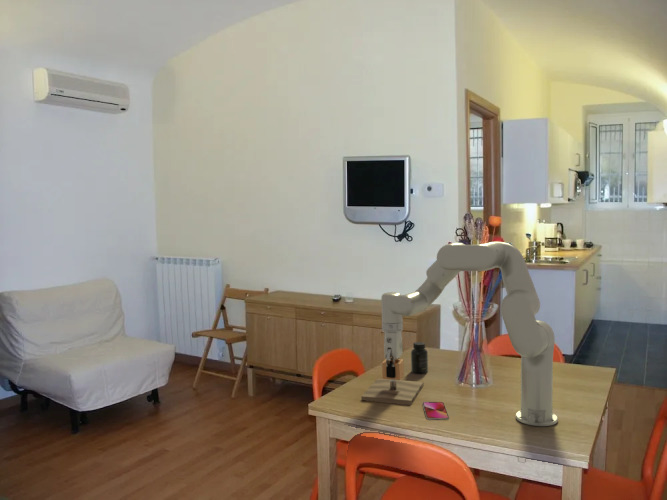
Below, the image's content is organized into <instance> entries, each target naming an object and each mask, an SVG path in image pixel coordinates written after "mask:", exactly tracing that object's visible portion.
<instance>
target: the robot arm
mask: <svg viewBox="0 0 667 500" xmlns="http://www.w3.org/2000/svg"><path fill="white" fill-rule="evenodd" d="M497 268H499V269H500V272H501V278H502V282H503V285H504V288H505V290H506V291H505V292H506V295H504V297H503V299H502V300H501V304H500V312H501V317H502V320H503V323H504V326H505V329H506V332H507V335H508V337H509V341H510V343H511V346H512V348H513V349H514V351H515V352H516V353H517V354H518V355H520V356H521V358H520V410H518V411H517V412H516V414H515V419H516V420H517V421H518V422H520V423H522V424H525V425H528V426H532V427H550V426H553V425H555V424H557V423H558V420H559V419H558V418H559V417H558V416H557V415H556V414H555V413H553V390H554V389H553V387H554V386H553V381H554V380H553V373H554V371H553V369H554V367H553V365H554V364H553V363H554V351H555V339H556V338H555V332H554V330H553V328H552V326H551V325H549V324H548V323H547V322H546V321H543V320H537V318H536V315H537V314H538V313H539V312H540V308H541V302H540V298H539V296H538V293H537V291H536V288H535V284H534V282H533V279H532V276H531V274H530V271H529V269H528V266H527V262H526V260H525V257H524V256H523V254H522V252H521V251H520V250H519V249H518V248H517V247H516V246H514V245H512V244H510V243H508V242H503V241H489V242H486V243H481V244H465V243H463V242H454V243H447V244H445V245H443V246H442V247H440V248H439V250H438V251H437V253H436V260H435V261H434V262H433V263H432V264H431V265H430V266H429V267H428V268H427V269H426V270H425V271H426V278H425V279H426V280H425V281H424V282H423V283H421V285H420V286H419V287H418V288H417V289H416V290H415V291H413V292H410V293H407V294H401V293H400V292H396V291H395V292H393V291H391V292H384V293H383V294H382V295H381V297H380V298H381V300H380V301H381V331H382V332H384V337H383V338H384V340H383V342H384V343H383V350H384V351H383V353H384V354H383V355H384V358H385V359H386V362H387V363H386V374H387V377H389V378H395V377H396V376H395V367H394V364H395V359H401V358H400V357H401V356H402V355H403V352H404V351H403V350H404V349H403V345H404V344H403V335H402V332H403V330H404V325H403V321H404V320H403V316H405V317H410V316H413V315H416V314H418V313H421V312H423V311H426V309H427V308H429V307H430V306H431V304H433V303H434V302H435V301H436V300H437V299H438V298H439V296H440V295H441V294H442V293H443V291H444V290H445V288H446V287H447V286H448V285H449V284H450V282H452V280H453V279H454V278H456V277H457V276H458V275H459V274H460V273H461V272H485V271H490V270H493V269H497ZM391 360H393V362H392V361H391Z"/></svg>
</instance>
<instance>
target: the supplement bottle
mask: <svg viewBox="0 0 667 500" xmlns="http://www.w3.org/2000/svg"><path fill="white" fill-rule="evenodd" d="M412 343H413V346H412V348H413V349H412V350H411V351H410V364H411V365H410V367H411V368H410V370H411V372H412V373H413V374H415V375H424V374H427V373H428V371H429V357H428V356H429V355H428V350H427V349H426V343H425V342H422V341H416V342H412Z"/></svg>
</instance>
